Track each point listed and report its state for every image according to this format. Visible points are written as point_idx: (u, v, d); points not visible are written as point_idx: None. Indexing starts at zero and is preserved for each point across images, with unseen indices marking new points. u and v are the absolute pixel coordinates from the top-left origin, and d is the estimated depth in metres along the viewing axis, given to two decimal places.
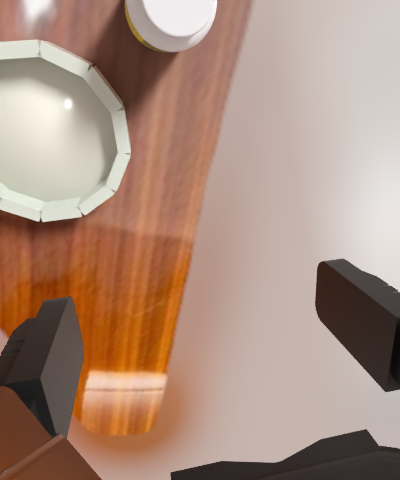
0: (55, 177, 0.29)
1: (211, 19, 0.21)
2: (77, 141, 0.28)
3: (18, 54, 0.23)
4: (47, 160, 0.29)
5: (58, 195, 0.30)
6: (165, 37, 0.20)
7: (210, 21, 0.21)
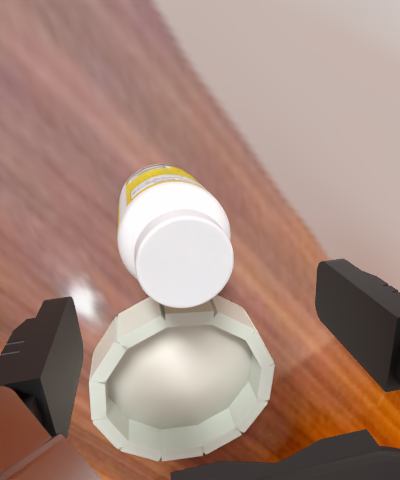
0: (217, 387, 0.28)
1: (222, 215, 0.16)
2: (205, 352, 0.26)
3: (114, 363, 0.23)
4: (200, 384, 0.27)
5: (232, 394, 0.28)
6: None
7: (223, 218, 0.16)
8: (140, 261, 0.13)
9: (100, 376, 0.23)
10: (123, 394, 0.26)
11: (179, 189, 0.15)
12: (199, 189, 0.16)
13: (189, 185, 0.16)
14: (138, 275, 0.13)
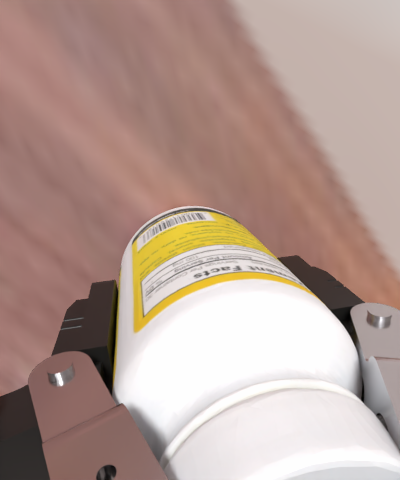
0: None
1: (354, 357, 0.07)
2: None
3: None
4: None
5: None
6: None
7: (356, 362, 0.07)
8: None
9: None
10: None
11: (263, 308, 0.06)
12: (304, 300, 0.07)
13: (281, 291, 0.07)
14: None
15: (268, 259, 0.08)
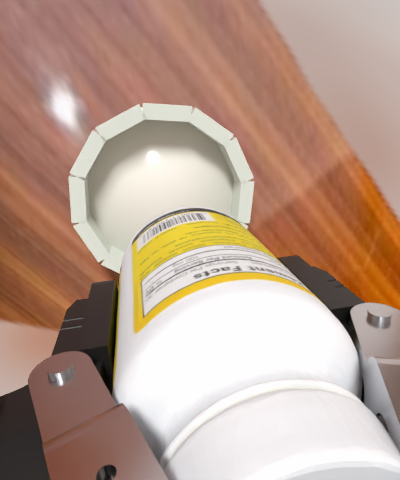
0: None
1: (354, 358, 0.07)
2: (186, 174, 0.26)
3: (93, 156, 0.23)
4: None
5: None
6: None
7: (356, 363, 0.07)
8: None
9: (79, 170, 0.23)
10: (105, 214, 0.26)
11: (264, 309, 0.06)
12: (304, 300, 0.07)
13: (281, 292, 0.07)
14: None
15: (268, 259, 0.08)
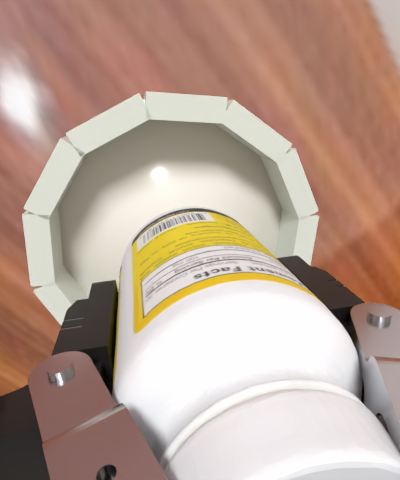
0: None
1: (354, 358, 0.07)
2: (212, 203, 0.17)
3: (62, 180, 0.14)
4: None
5: None
6: None
7: (356, 363, 0.07)
8: None
9: (40, 204, 0.14)
10: (87, 265, 0.17)
11: (263, 309, 0.06)
12: (304, 300, 0.07)
13: (281, 292, 0.07)
14: None
15: (268, 260, 0.08)
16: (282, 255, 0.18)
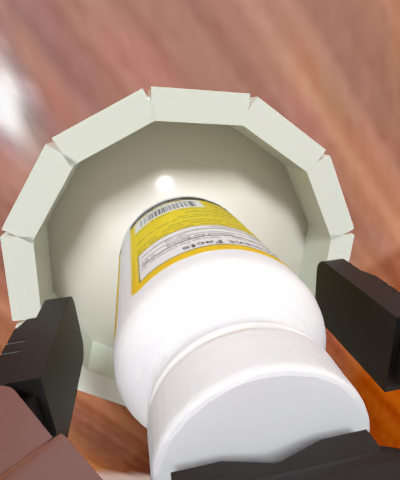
0: None
1: (317, 314, 0.08)
2: None
3: (49, 195, 0.11)
4: None
5: None
6: None
7: (319, 319, 0.08)
8: (163, 469, 0.06)
9: (22, 224, 0.11)
10: (81, 291, 0.15)
11: (238, 270, 0.07)
12: (274, 265, 0.08)
13: (254, 258, 0.08)
14: None
15: (248, 237, 0.10)
16: (308, 278, 0.16)
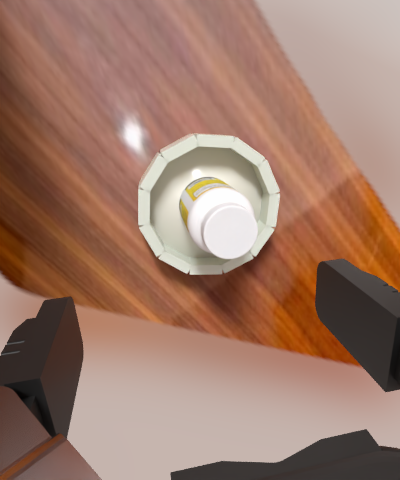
0: None
1: (250, 207, 0.27)
2: None
3: (157, 174, 0.30)
4: None
5: None
6: None
7: (251, 209, 0.27)
8: (206, 230, 0.24)
9: (147, 185, 0.30)
10: (160, 219, 0.33)
11: (226, 191, 0.26)
12: (237, 192, 0.26)
13: (231, 189, 0.26)
14: (205, 238, 0.24)
15: (231, 187, 0.28)
16: (262, 216, 0.34)
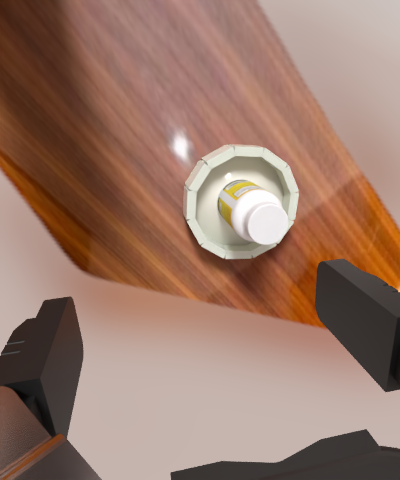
0: None
1: (280, 205, 0.34)
2: None
3: (203, 178, 0.37)
4: None
5: None
6: None
7: (281, 206, 0.34)
8: (250, 222, 0.32)
9: (194, 187, 0.38)
10: (201, 214, 0.41)
11: (262, 192, 0.34)
12: (270, 193, 0.34)
13: (265, 191, 0.34)
14: (248, 228, 0.32)
15: None
16: (284, 210, 0.42)
